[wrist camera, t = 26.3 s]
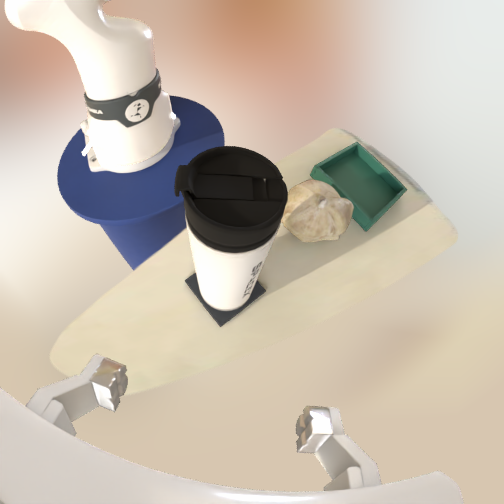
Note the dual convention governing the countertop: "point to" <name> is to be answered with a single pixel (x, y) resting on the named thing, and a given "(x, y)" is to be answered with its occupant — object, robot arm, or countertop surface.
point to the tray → (360, 182)
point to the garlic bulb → (316, 212)
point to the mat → (219, 315)
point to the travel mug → (230, 219)
